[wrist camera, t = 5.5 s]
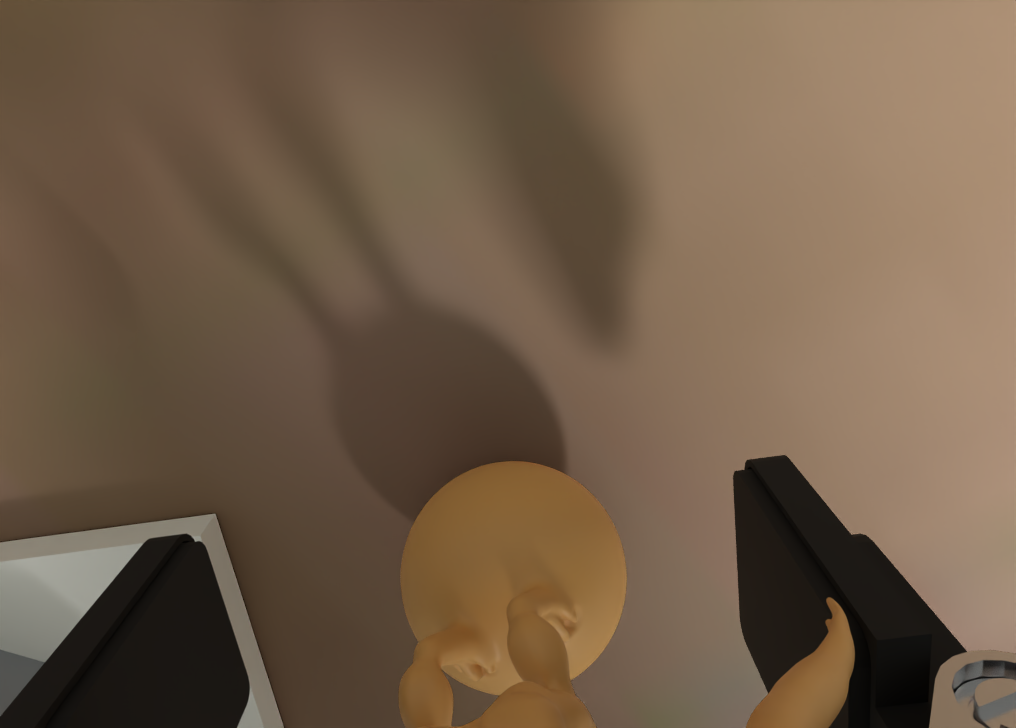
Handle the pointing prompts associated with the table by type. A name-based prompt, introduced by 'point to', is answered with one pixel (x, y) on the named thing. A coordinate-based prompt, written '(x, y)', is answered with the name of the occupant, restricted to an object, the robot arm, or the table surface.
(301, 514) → the table surface
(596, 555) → the figurine
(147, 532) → the ring stand
